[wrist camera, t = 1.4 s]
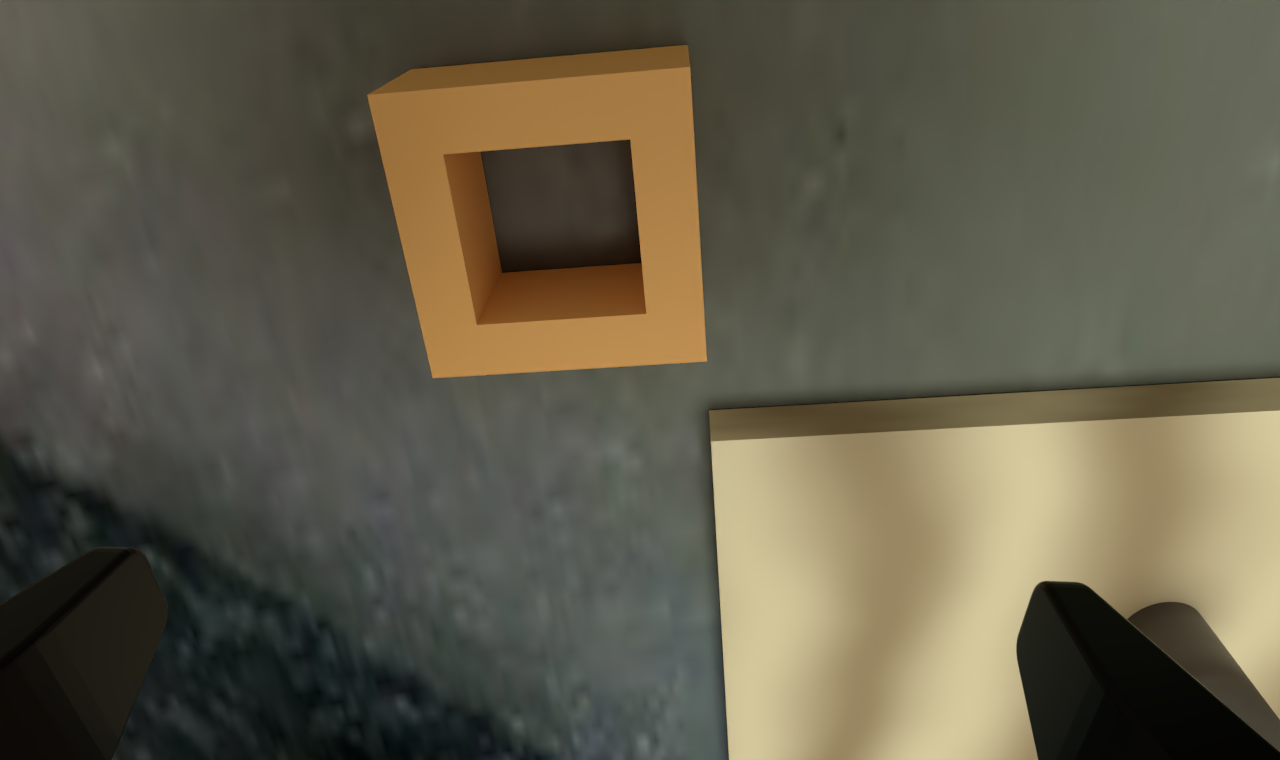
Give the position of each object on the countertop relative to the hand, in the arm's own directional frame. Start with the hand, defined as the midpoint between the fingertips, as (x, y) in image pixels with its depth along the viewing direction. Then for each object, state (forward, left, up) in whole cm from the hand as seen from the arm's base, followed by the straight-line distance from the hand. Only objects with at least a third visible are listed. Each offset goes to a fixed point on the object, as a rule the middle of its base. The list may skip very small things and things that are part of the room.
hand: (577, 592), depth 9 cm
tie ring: (-1, +1, -13) cm, 13 cm away
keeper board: (+12, -12, -13) cm, 21 cm away
